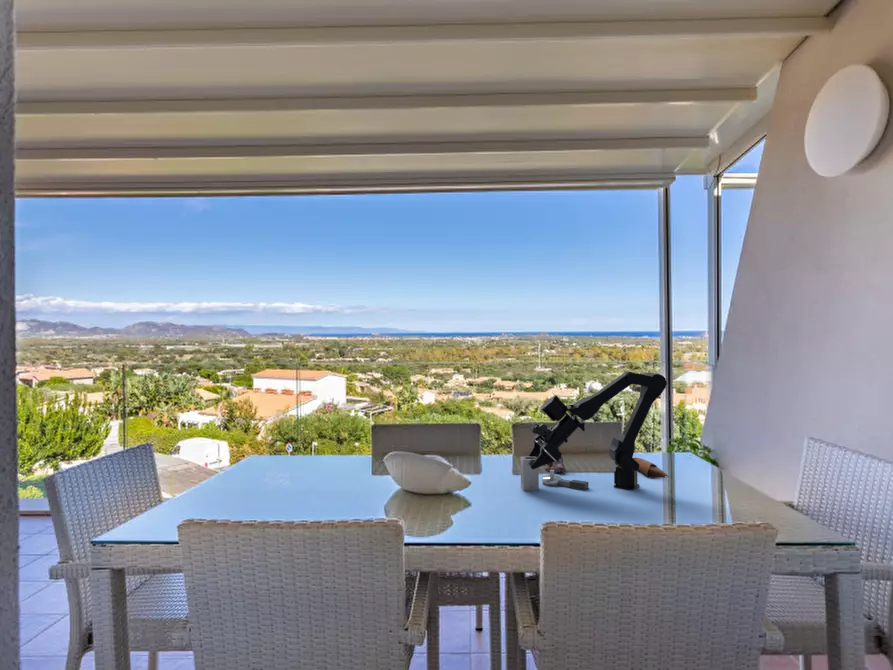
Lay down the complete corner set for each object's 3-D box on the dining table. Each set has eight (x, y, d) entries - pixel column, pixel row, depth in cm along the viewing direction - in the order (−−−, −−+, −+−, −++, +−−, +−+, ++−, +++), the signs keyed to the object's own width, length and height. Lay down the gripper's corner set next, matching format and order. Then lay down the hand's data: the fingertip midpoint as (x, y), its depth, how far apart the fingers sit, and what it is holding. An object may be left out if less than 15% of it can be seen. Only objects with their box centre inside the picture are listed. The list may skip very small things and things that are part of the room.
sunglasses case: (671, 477, 209) (661, 460, 208) (654, 487, 208) (644, 471, 208) (650, 465, 227) (641, 450, 226) (634, 475, 226) (625, 460, 226)
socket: (535, 486, 199) (535, 456, 198) (538, 490, 194) (538, 459, 193) (520, 486, 198) (520, 456, 198) (523, 490, 193) (523, 459, 193)
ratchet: (590, 486, 197) (590, 473, 197) (582, 491, 192) (582, 477, 192) (547, 480, 207) (547, 467, 207) (539, 484, 202) (538, 470, 202)
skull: (569, 474, 214) (568, 457, 214) (547, 475, 214) (547, 458, 214) (562, 467, 226) (562, 450, 226) (542, 467, 226) (542, 451, 226)
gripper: (539, 409, 205) (507, 442, 205) (551, 418, 187) (516, 453, 186) (562, 432, 206) (530, 465, 205) (576, 443, 187) (541, 478, 187)
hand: (529, 465), depth 196 cm, fingers open, 9 cm apart
